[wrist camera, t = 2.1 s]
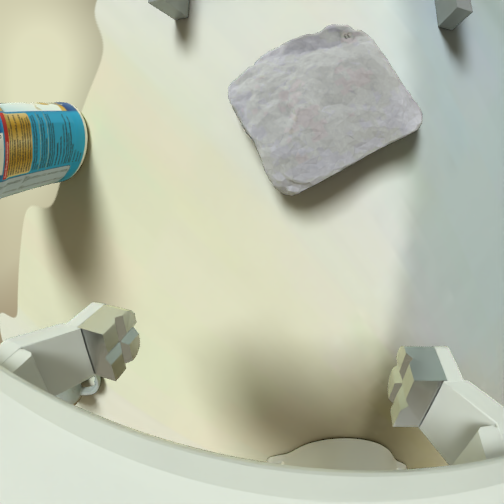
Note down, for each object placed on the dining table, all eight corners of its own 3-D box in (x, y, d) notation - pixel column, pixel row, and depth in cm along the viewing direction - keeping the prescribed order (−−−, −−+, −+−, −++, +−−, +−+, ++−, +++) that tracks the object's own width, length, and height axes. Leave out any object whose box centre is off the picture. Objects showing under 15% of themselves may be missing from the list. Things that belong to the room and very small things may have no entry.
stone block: (230, 102, 24) (291, 206, 24) (205, 83, 20) (277, 205, 19) (351, 33, 20) (423, 132, 20) (348, 1, 16) (439, 115, 16)
